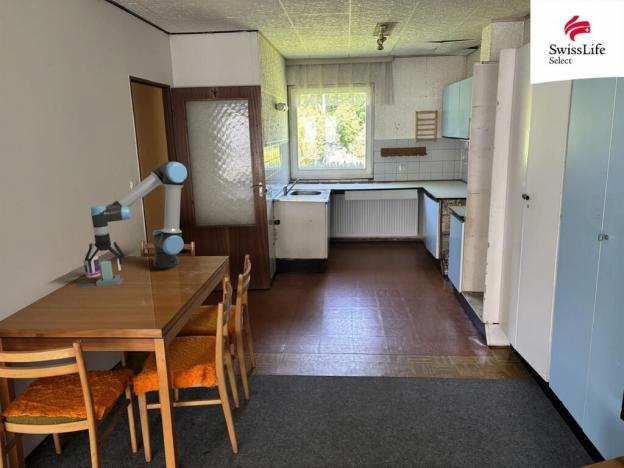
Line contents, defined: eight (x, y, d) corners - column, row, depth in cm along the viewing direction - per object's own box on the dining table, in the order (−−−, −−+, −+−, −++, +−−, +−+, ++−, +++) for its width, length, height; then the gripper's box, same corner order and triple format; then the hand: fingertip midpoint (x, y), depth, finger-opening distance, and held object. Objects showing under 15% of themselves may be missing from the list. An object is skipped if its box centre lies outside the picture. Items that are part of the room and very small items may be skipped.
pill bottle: (103, 274, 281) (100, 250, 277) (96, 278, 273) (92, 254, 270) (90, 274, 281) (87, 251, 278) (83, 278, 274) (79, 254, 270)
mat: (95, 282, 266) (95, 281, 266) (91, 287, 257) (91, 286, 257) (78, 283, 264) (77, 282, 264) (73, 288, 255) (73, 287, 255)
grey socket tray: (123, 279, 269) (123, 274, 268) (120, 285, 258) (119, 280, 257) (97, 282, 266) (97, 276, 265) (93, 288, 255) (92, 282, 255)
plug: (113, 280, 264) (110, 260, 262) (112, 283, 260) (109, 262, 257) (105, 281, 263) (102, 261, 261) (103, 284, 259) (100, 263, 257)
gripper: (126, 230, 262) (131, 267, 266) (78, 234, 257) (84, 271, 261) (124, 233, 255) (129, 270, 259) (75, 237, 249) (81, 275, 254)
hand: (106, 271), depth 260 cm, fingers open, 13 cm apart
